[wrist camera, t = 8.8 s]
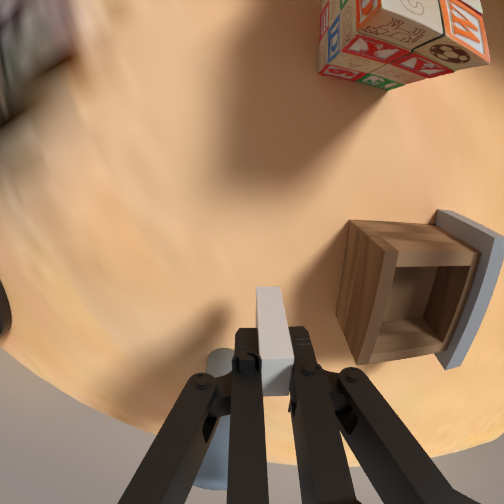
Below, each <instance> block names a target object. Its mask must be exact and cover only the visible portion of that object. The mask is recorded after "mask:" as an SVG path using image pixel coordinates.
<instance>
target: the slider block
mask: <svg viewBox="0 0 504 504" xmlns="http://www.w3.org/2000/svg"><path fill="white" fill-rule="evenodd" d="M481 254H482V253H481V252H480V251H478V250H477V249H475V248H473V247H472V246H470V245H469V244H467V243H465V242H464V241H462V240H460V239H459V238H457V237H455V236H454V235H452V234H450V233H448V232H447V231H445V230H443V229H441V228H440V227H438V226H436V225H430V224H416V223H401V222H384V221H365V220H349V228H348V237H347V245H346V253H345V260H344V267H343V274H342V281H341V287H340V293H339V299H338V304H337V310H336V316H337V318H338V321H339V323H340V325H341V328H342V330H343V333H344V335H345V338H346V340H347V343H348V345H349V348H350V350H351V353H352V355H353V358H354V360H355V363H356V365H363V364H371V363H379V362H386V361H393V360H400V359H406V358H412V357H417V356H423V355H428V354H433V353H437V352H442V351H447V349H448V347H449V344H450V342H451V340H452V338H453V336H454V333H455V331H456V329H457V326H458V324H459V321H460V319H461V316H462V314H463V311H464V309H465V306H466V303H467V300H468V297H469V295H470V292H471V289H472V286H473V282H474V279H475V276H476V273H477V269H478V266H479V262H480V258H481Z"/></svg>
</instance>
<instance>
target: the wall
mask: <svg viewBox="0 0 504 504" xmlns="http://www.w3.org/2000/svg"><path fill="white" fill-rule="evenodd" d="M435 225H436V226H438V227H440V228H441V229H443V230H445V231H447V232H448V233H450V234H452V235H454V236H455V237H457V238H459V239H460V240H462V241H464V242H465V243H467V244H469V245H470V246H472V247H473V248H475V249H477V250H478V251H480V252H481V253H482V254H481V258H480V262H479V266H478V269H477V273H476V276H475V279H474V282H473V286H472V289H471V292H470V295H469V297H468V300H467V303H466V306H465V309H464V311H463V314H462V316H461V319H460V321H459V324H458V326H457V329H456V331H455V333H454V336H453V338H452V340H451V342H450V344H449V347H448V349H447V351H442V352H437V353H434V354H435V356H436V357H437V359H438V360H439V362H440V363H441V365H442V366H443V368H444V369H445V370H448V369H451V368H455V367H458V366H460V365H461V363H462V362H463V360H464V358H465V356H466V354H467V352H468V350H469V348H470V346H471V344H472V342H473V340H474V338H475V336H476V333H477V331H478V329H479V327H480V324H481V322H482V320H483V317H484V315H485V312H486V310H487V307H488V305H489V302H490V299H491V297H492V294H493V291H494V288H495V285H496V282H497V279H498V276H499V273H500V269H501V266H502V262H503V259H504V236H502V235H500V234H498V233H496V232H494V231H493V230H491V229H489V228H487V227H485V226H483V225H481V224H479V223H477V222H475V221H473V220H471V219H468V218H466V217H464V216H462V215H460V214H458V213H455V212H453V211H448V210H440V209H437V215H436V222H435Z"/></svg>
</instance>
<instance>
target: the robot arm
mask: <svg viewBox="0 0 504 504" xmlns="http://www.w3.org/2000/svg"><path fill="white" fill-rule="evenodd" d="M10 325H11V313H10V308H9V304H8V300H7V297H6V294H5V292H4V289H3V287H2V284H1V282H0V337H1V336H2V335H3V334H4V333H5V332H6V331H7V330H8V329H9V328H10ZM289 390H290V403H289V409H288V412H290V411H291V418H292V426H293V434H294V441H295V449H296V457H297V465H298V472H299V481H300V490H301V498H302V504H362V503H361V502H359V501H358V500H357V499H356V496H355V492H354V488H353V483H352V479H351V475H350V471H349V466H348V462H347V458H346V454H345V450H344V446H343V442H342V438H341V434H340V432H341V433H342V435H343V437H344V438H345V440H346V442H347V443H348V445H349V447H350V448H351V450H352V452H353V453H354V455H355V457H356V458H357V460H358V462H359V463H360V465H361V467H362V468H363V470H364V472H365V473H366V475H367V476H368V478H369V480H370V482H371V483H372V485H373V487H374V488H375V490H376V492H377V493H378V495H379V496H380V498H381V500H382V501H383V503H384V504H480V503H478V502H476V501H474V500H472V499H470V498H468V497H467V496H465V495H463V494H461V493H460V492H458V491H456V490H454V489H453V488H452V487H451V485H450V484H449V483H448V481H447V480H446V479H445V477H444V476H443V475H442V473H441V472H440V471H439V469H438V468H437V467H436V465H435V464H434V463H433V461H432V460H431V459H430V457H429V456H428V455H427V453H426V452H425V451H424V449H423V448H422V447H421V445H420V444H419V443H418V441H417V440H416V439H415V438H414V436H413V435H412V434H411V432H410V431H409V430H408V428H407V427H406V426H405V425H404V423H403V422H402V421H401V419H400V418H399V417H398V415H397V414H396V413H395V412H394V410H393V409H392V408H391V406H390V405H389V404H388V403H387V401H386V400H385V399H384V397H383V396H382V395H381V394H380V392H379V391H378V390H377V388H376V387H375V386H374V385H373V383H372V382H371V381H370V380H369V378H368V377H367V376H366V374H365V373H364V372H363V371H362V370H360V369H358V368H354V367H348V368H345V369H343V370H342V371H341V372H340V373H334V372H329V371H326V370H324V369H322V367H321V366H320V365H319V364H318V363H317V361H316V358H315V354H314V350H313V347H312V344H311V340H310V337H309V333H308V331H307V330H306V329H305V328H304V327H303V326H296V327H288V324H287V319H286V314H285V309H284V304H283V299H282V295H281V290H280V286H274V287H256V328H239V330H238V331H237V332H236V334H235V351H234V356H233V358H232V370H231V371H230V372H229V373H228V374H226V375H224V376H220V377H216V378H215V377H214V376H212V375H210V374H208V373H198V374H195V375H193V376H191V377H190V378H189V380H188V381H187V383H186V385H185V387H184V388H183V390H182V392H181V394H180V395H179V397H178V399H177V401H176V403H175V404H174V406H173V408H172V410H171V411H170V413H169V415H168V417H167V418H166V420H165V422H164V424H163V425H162V427H161V429H160V431H159V432H158V434H157V436H156V438H155V440H154V441H153V443H152V445H151V447H150V448H149V450H148V452H147V453H146V455H145V457H144V459H143V460H142V462H141V464H140V466H139V467H138V469H137V471H136V473H135V474H134V476H133V478H132V480H131V482H130V483H129V485H128V487H127V488H126V490H125V492H124V494H123V495H122V497H121V499H120V500H119V502H118V504H184V503H185V501H186V499H187V497H188V494H189V492H190V490H191V487H192V485H193V483H194V481H195V478H196V476H197V474H198V471H199V469H200V467H201V464H202V462H203V460H204V457H205V455H206V452H207V450H208V448H209V445H210V443H211V440H212V438H213V436H214V433H215V431H216V428H217V426H218V423H219V421H220V418H221V417H222V416H226V415H230V430H229V453H228V478H227V504H269V496H268V478H267V460H266V442H265V424H264V407H263V396H287V395H289ZM339 430H340V431H339Z"/></svg>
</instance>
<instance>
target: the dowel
mask: <svg viewBox="0 0 504 504" xmlns="http://www.w3.org/2000/svg"><path fill="white" fill-rule="evenodd" d="M233 356H234V350H232V349H228V348H220V349H216V350H214V351H212V352H211V353H210V355H209V358H208V363H207V368H206V373H208V374H210V375H212V376H214V377H215V378H216V377H220V376H224V375H226V374H228V373H229V372H230V371H231V370H232V358H233ZM229 430H230V415H226V416H222V417H221V418H220V421H219V423H218V426H217V428H216V431H215V433H214V436H213V438H212V440H211V443H210V445H209V448H208V450H207V452H206V455H205V457H204V460H203V462H202V464H201V467H200V469H199V471H198V474H197V476H196V478H195V481H194V483H193V486H196V487H200V488H203V489H210V490H227V478H228V453H229Z"/></svg>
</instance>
